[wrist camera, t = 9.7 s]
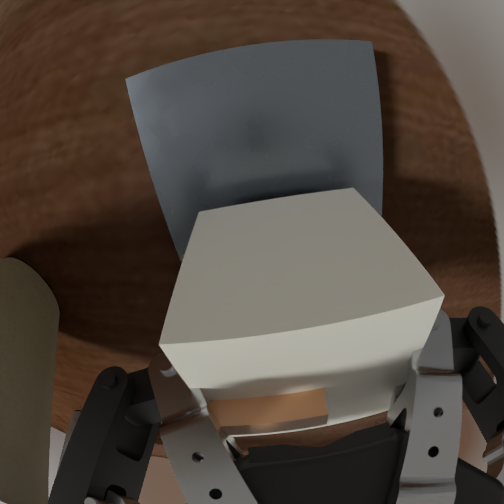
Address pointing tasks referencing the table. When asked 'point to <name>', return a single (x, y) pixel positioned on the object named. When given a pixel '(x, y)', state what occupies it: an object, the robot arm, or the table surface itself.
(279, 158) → the panel
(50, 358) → the plant pot
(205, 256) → the white and orange block
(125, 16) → the table surface
